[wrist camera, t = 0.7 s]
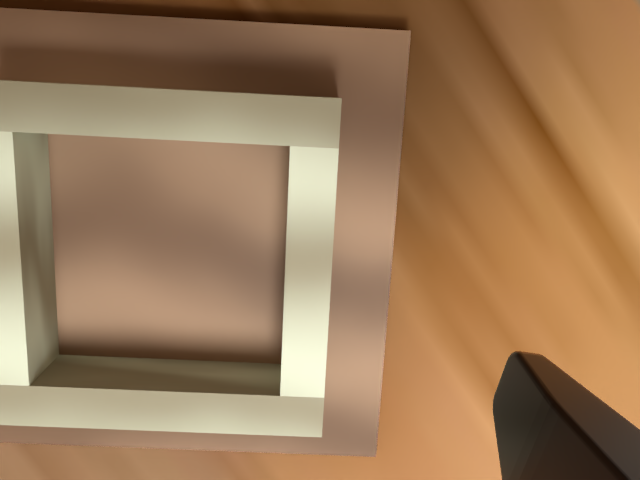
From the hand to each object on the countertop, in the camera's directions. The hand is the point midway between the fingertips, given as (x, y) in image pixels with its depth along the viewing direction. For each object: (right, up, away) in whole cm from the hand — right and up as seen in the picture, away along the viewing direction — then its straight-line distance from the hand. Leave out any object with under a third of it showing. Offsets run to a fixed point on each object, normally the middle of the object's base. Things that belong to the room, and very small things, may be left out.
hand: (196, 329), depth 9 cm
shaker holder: (-4, +1, +14) cm, 15 cm away
